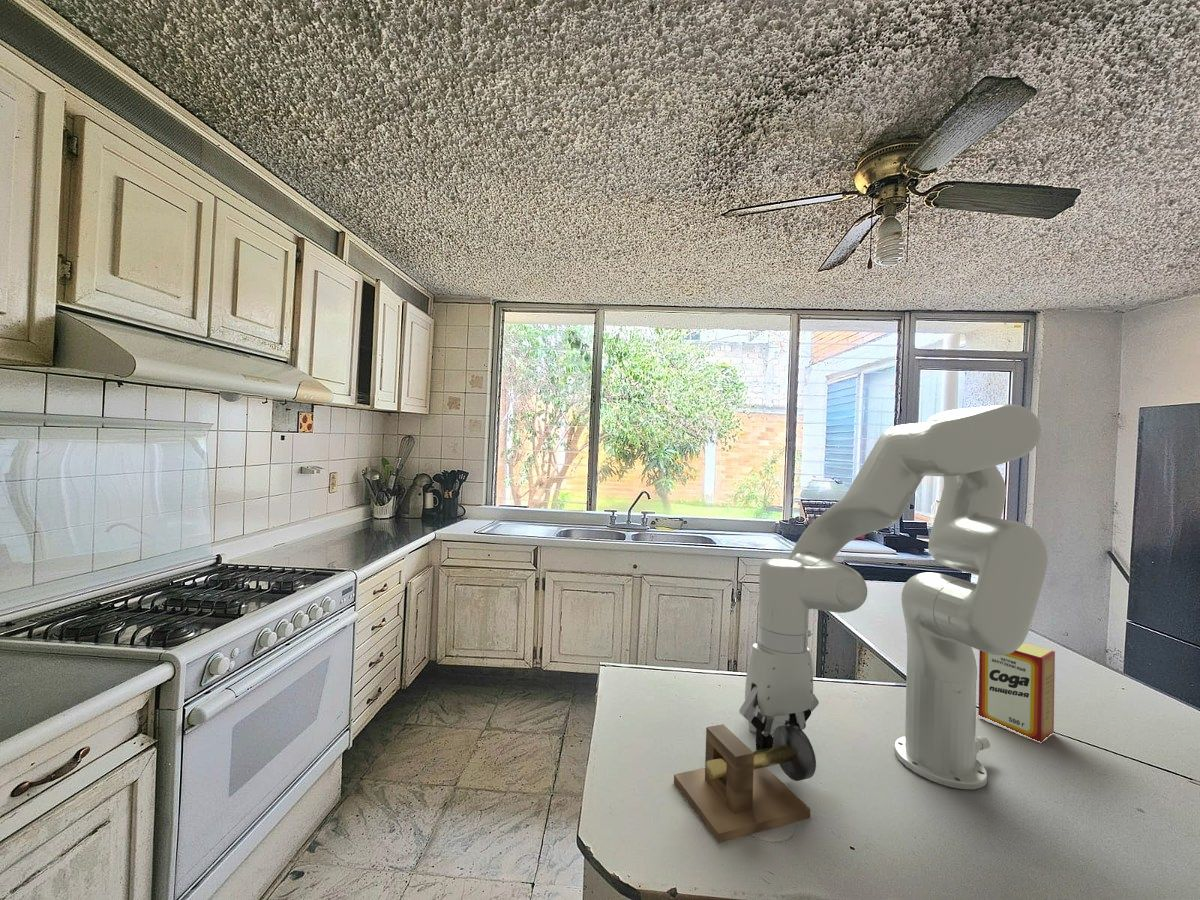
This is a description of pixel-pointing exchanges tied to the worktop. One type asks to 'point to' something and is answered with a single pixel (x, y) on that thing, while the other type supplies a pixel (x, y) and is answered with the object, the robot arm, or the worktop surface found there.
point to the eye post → (738, 791)
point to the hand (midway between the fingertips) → (778, 752)
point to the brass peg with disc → (778, 755)
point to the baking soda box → (1019, 690)
